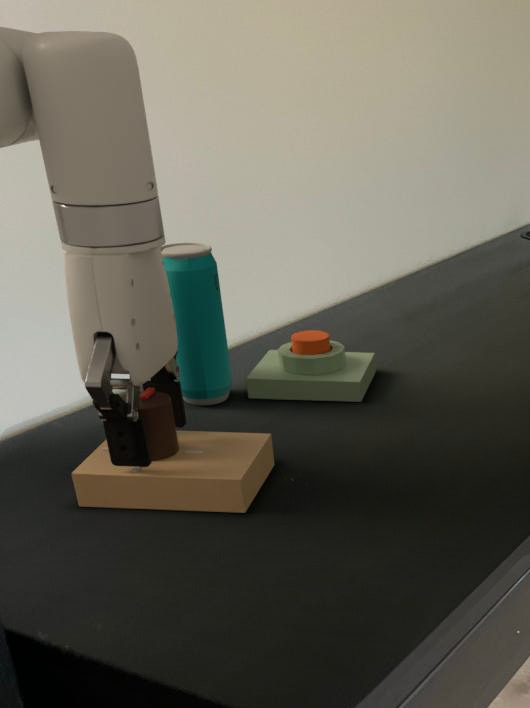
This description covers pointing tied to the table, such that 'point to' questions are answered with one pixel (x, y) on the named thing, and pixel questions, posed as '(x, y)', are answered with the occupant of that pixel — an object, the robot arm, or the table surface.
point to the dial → (158, 423)
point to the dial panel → (181, 475)
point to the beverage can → (198, 323)
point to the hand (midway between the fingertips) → (151, 443)
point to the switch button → (310, 342)
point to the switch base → (312, 375)
